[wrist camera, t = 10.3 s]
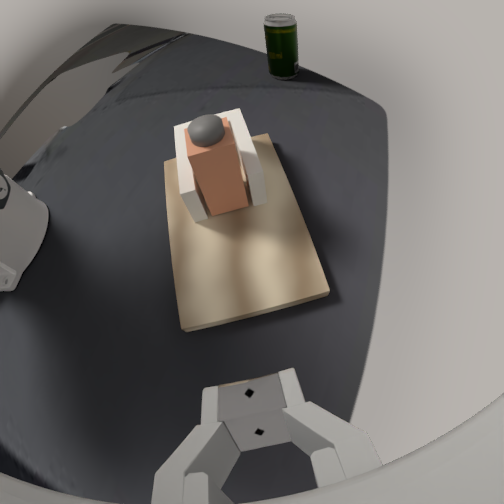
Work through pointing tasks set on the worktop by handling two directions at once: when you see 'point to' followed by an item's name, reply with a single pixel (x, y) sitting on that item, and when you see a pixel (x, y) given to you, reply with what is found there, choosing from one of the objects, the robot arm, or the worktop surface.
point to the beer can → (281, 45)
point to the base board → (242, 252)
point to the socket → (248, 161)
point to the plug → (215, 163)
